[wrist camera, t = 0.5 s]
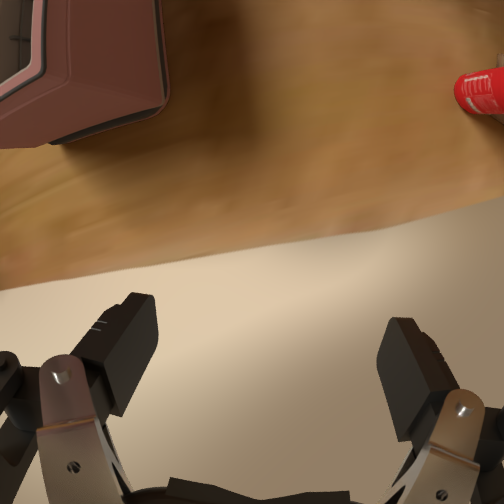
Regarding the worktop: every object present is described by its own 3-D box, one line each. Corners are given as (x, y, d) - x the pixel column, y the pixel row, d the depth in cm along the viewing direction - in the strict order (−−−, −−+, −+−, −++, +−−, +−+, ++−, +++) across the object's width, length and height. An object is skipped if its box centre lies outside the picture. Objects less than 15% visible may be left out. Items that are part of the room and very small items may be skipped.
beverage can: (444, 84, 28) (501, 73, 17) (469, 69, 27) (526, 58, 16) (464, 120, 30) (523, 123, 19) (487, 104, 28) (546, 104, 17)
